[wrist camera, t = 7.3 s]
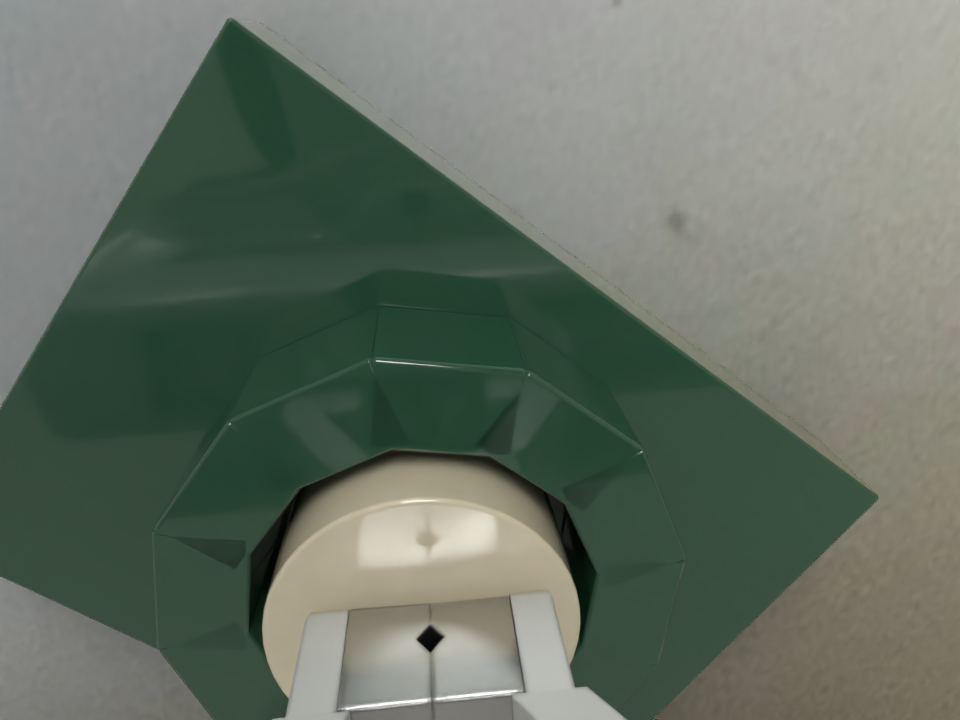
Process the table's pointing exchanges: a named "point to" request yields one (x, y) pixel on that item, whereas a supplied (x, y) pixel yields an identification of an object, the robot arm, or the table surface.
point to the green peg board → (377, 396)
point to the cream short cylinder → (413, 545)
